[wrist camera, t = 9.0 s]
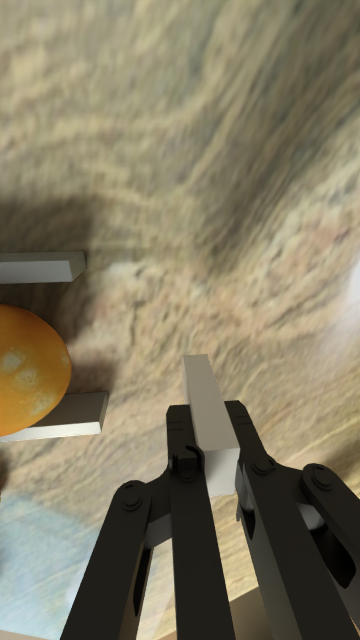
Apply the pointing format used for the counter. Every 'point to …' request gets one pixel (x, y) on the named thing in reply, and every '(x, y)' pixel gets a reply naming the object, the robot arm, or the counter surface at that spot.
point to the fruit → (29, 369)
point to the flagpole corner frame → (73, 409)
